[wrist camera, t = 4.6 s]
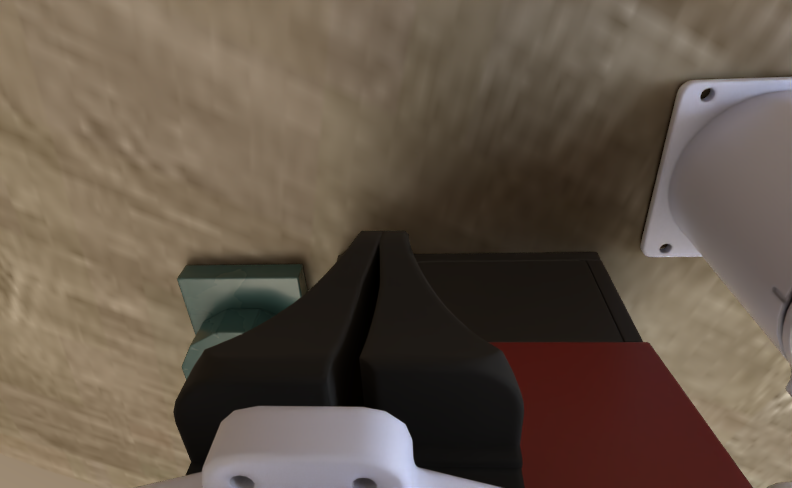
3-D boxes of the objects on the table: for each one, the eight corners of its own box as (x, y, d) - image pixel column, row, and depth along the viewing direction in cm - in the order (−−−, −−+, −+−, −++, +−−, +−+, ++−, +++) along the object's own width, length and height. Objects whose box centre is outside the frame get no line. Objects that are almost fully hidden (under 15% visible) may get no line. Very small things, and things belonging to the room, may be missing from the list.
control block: (306, 263, 26) (293, 300, 23) (329, 401, 31) (320, 444, 29) (182, 264, 26) (156, 301, 24) (226, 400, 31) (208, 443, 29)
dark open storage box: (568, 401, 30) (598, 504, 25) (356, 400, 31) (342, 499, 26) (597, 251, 25) (643, 341, 19) (337, 254, 25) (315, 342, 20)
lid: (904, 740, 9) (919, 716, 9) (193, 707, 10) (186, 685, 9) (646, 357, 19) (649, 341, 19) (314, 357, 20) (312, 341, 20)
